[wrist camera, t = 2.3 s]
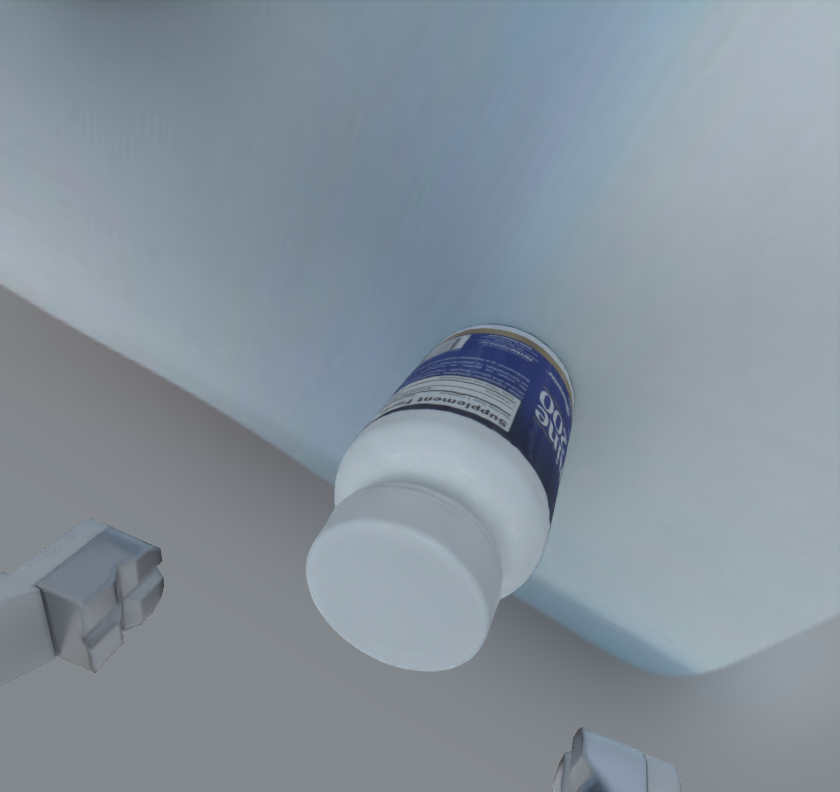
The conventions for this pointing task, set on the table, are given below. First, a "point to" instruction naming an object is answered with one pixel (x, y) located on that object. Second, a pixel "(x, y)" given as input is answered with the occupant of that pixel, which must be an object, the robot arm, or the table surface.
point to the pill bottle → (445, 500)
